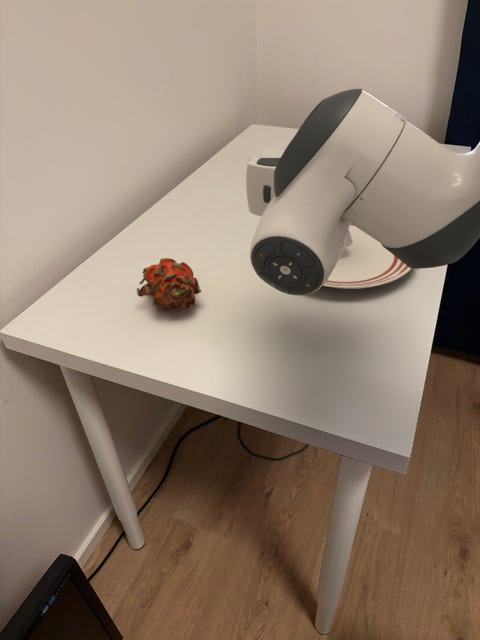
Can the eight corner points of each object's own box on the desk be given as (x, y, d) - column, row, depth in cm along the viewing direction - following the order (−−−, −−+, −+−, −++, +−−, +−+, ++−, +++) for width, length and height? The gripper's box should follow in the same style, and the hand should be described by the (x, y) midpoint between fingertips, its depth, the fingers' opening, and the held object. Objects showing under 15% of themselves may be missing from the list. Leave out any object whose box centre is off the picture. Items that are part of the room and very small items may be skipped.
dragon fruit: (194, 330, 77) (152, 307, 85) (222, 284, 77) (177, 265, 85) (159, 308, 70) (117, 285, 78) (189, 258, 71) (144, 240, 79)
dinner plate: (423, 232, 94) (427, 217, 92) (403, 316, 75) (407, 299, 73) (288, 212, 103) (289, 198, 101) (239, 282, 84) (239, 266, 81)
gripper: (420, 175, 50) (425, 131, 60) (233, 161, 56) (266, 123, 66) (409, 230, 54) (415, 180, 64) (236, 211, 60) (267, 168, 70)
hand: (339, 151), depth 65 cm, fingers open, 8 cm apart
